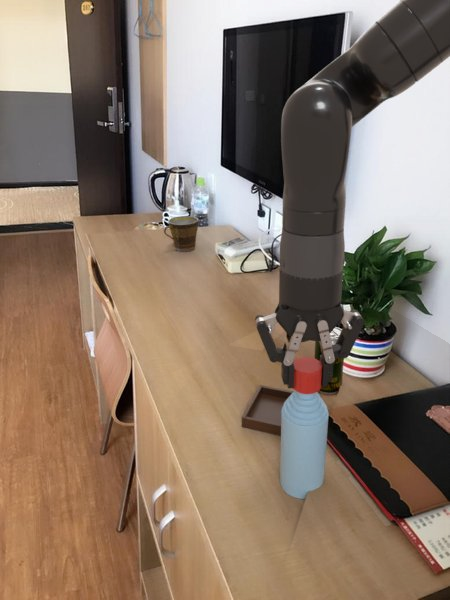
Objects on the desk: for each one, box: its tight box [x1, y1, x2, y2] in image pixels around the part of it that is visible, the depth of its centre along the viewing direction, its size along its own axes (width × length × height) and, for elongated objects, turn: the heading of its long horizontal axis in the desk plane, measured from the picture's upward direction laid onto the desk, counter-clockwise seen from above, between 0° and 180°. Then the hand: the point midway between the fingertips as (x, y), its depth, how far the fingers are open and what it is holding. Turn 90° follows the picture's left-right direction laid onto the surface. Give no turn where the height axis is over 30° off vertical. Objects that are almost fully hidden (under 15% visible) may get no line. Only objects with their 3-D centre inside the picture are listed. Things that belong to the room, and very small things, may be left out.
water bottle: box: [279, 389, 330, 500], centre depth 71 cm, size 6×6×19 cm
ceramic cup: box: [163, 215, 199, 253], centre depth 167 cm, size 13×10×10 cm
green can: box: [313, 326, 345, 396], centre depth 93 cm, size 5×5×12 cm
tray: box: [241, 384, 294, 437], centre depth 88 cm, size 11×10×2 cm
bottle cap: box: [292, 356, 322, 394], centre depth 66 cm, size 4×4×3 cm
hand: (306, 383), depth 67 cm, fingers closed on bottle cap, 4 cm apart
